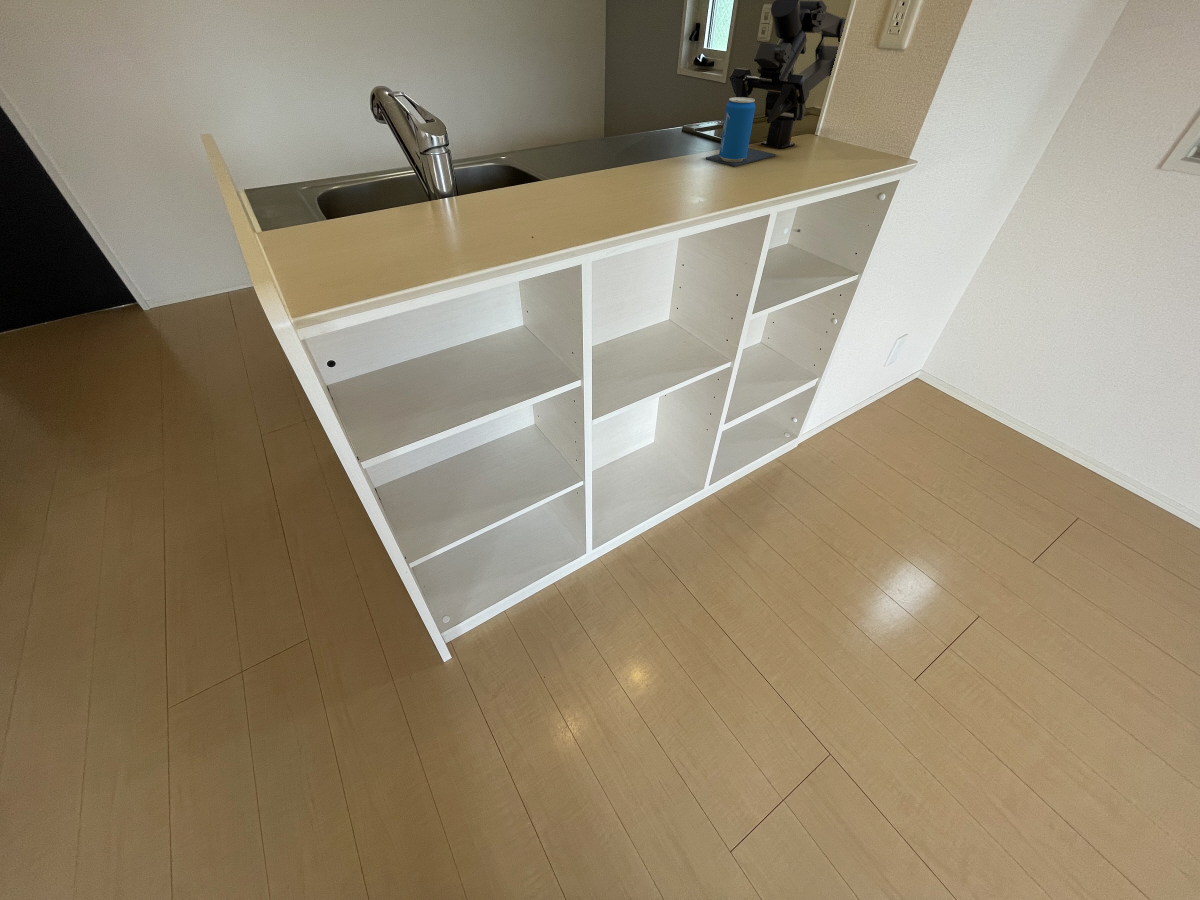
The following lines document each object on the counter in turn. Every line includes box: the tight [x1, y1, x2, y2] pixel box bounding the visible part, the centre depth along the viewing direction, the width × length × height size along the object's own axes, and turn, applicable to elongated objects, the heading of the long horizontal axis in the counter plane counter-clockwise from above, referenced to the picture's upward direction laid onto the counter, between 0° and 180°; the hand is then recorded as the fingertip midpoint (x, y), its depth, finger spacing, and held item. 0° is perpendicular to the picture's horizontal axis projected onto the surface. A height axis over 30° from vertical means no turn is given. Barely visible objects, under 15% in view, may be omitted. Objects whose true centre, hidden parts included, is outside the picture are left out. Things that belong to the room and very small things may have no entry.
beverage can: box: [718, 96, 756, 162], centre depth 117 cm, size 6×6×12 cm
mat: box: [705, 147, 777, 168], centre depth 124 cm, size 16×9×1 cm, turn 130°
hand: (750, 119), depth 119 cm, fingers open, 9 cm apart
